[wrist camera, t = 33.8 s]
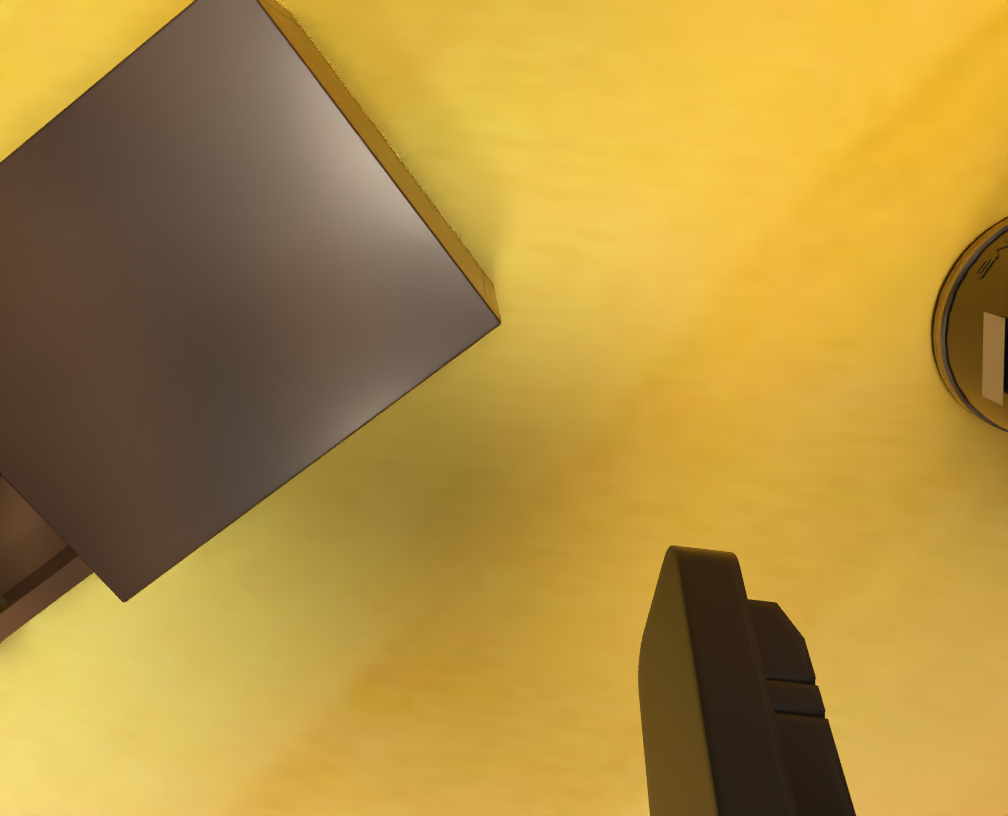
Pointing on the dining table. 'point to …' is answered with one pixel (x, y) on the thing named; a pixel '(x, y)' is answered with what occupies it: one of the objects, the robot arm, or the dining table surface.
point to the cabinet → (210, 288)
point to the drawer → (31, 562)
